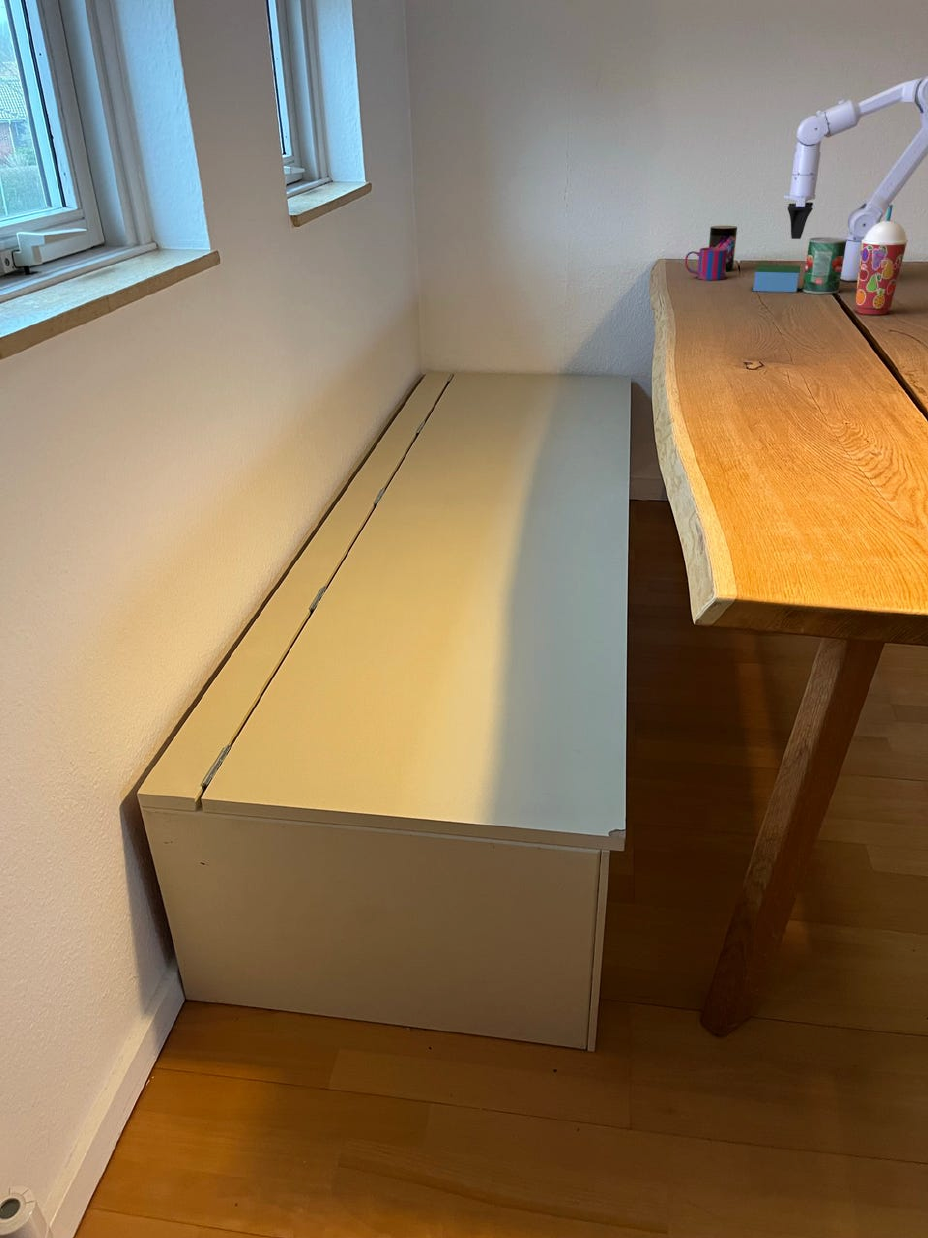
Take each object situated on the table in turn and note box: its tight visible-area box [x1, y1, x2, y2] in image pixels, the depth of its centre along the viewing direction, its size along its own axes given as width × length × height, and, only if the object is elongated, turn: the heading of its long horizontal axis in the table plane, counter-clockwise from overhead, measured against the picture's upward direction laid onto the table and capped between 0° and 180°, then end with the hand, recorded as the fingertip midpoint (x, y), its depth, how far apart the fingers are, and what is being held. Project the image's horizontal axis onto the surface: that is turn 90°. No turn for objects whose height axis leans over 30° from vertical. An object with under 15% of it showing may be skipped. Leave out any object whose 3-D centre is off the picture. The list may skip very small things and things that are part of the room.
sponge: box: [752, 264, 801, 293], centre depth 213 cm, size 10×5×5 cm, turn 71°
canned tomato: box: [801, 236, 847, 295], centre depth 209 cm, size 8×8×11 cm
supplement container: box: [708, 225, 738, 272], centre depth 240 cm, size 7×7×10 cm
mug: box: [684, 246, 728, 281], centre depth 230 cm, size 7×10×7 cm
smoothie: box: [854, 204, 909, 316], centre depth 184 cm, size 8×8×20 cm
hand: (796, 236), depth 224 cm, fingers open, 7 cm apart
